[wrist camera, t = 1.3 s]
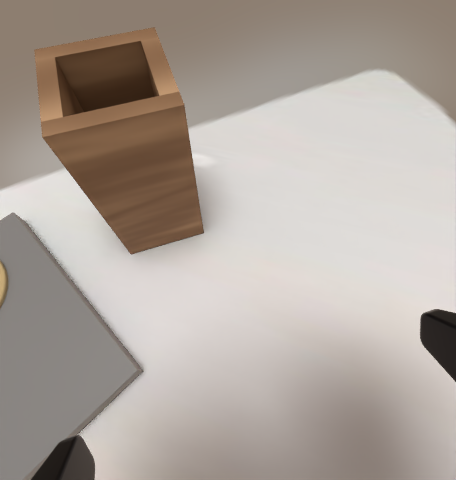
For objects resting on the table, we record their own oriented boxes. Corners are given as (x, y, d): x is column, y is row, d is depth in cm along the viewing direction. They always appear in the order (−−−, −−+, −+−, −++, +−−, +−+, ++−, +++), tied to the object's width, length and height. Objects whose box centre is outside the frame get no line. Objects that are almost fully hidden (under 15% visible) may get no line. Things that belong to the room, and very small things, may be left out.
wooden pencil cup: (203, 232, 24) (184, 104, 13) (130, 254, 23) (42, 137, 12) (184, 176, 27) (154, 27, 15) (118, 194, 26) (34, 49, 15)
